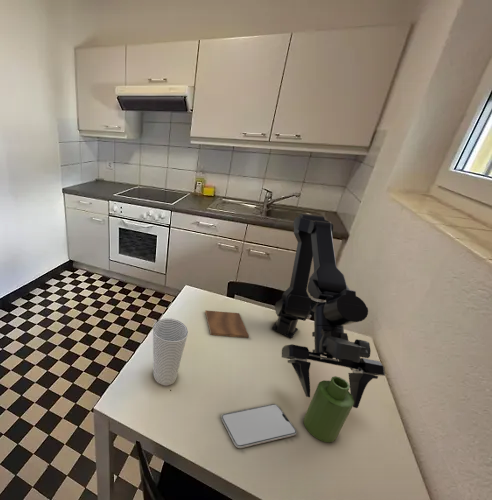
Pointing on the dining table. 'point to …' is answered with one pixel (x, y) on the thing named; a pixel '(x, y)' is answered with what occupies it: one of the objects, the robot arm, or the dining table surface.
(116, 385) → the dining table surface
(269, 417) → the smartphone
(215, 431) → the dining table surface
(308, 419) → the oil bottle
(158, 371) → the cup
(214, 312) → the trivet
